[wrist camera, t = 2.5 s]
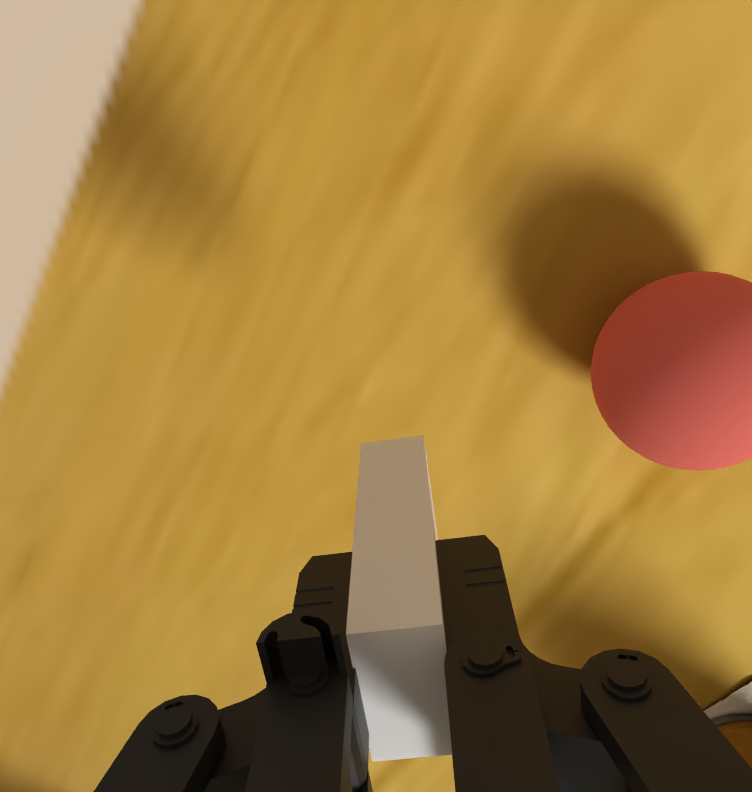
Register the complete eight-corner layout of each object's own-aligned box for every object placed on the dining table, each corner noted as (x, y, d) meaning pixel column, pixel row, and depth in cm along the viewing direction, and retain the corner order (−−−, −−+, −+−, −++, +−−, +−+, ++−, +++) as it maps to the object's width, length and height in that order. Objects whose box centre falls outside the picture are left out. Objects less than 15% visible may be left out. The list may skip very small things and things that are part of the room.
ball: (573, 431, 26) (626, 520, 20) (566, 267, 24) (623, 318, 18) (743, 408, 26) (844, 493, 20) (752, 241, 23) (867, 284, 18)
